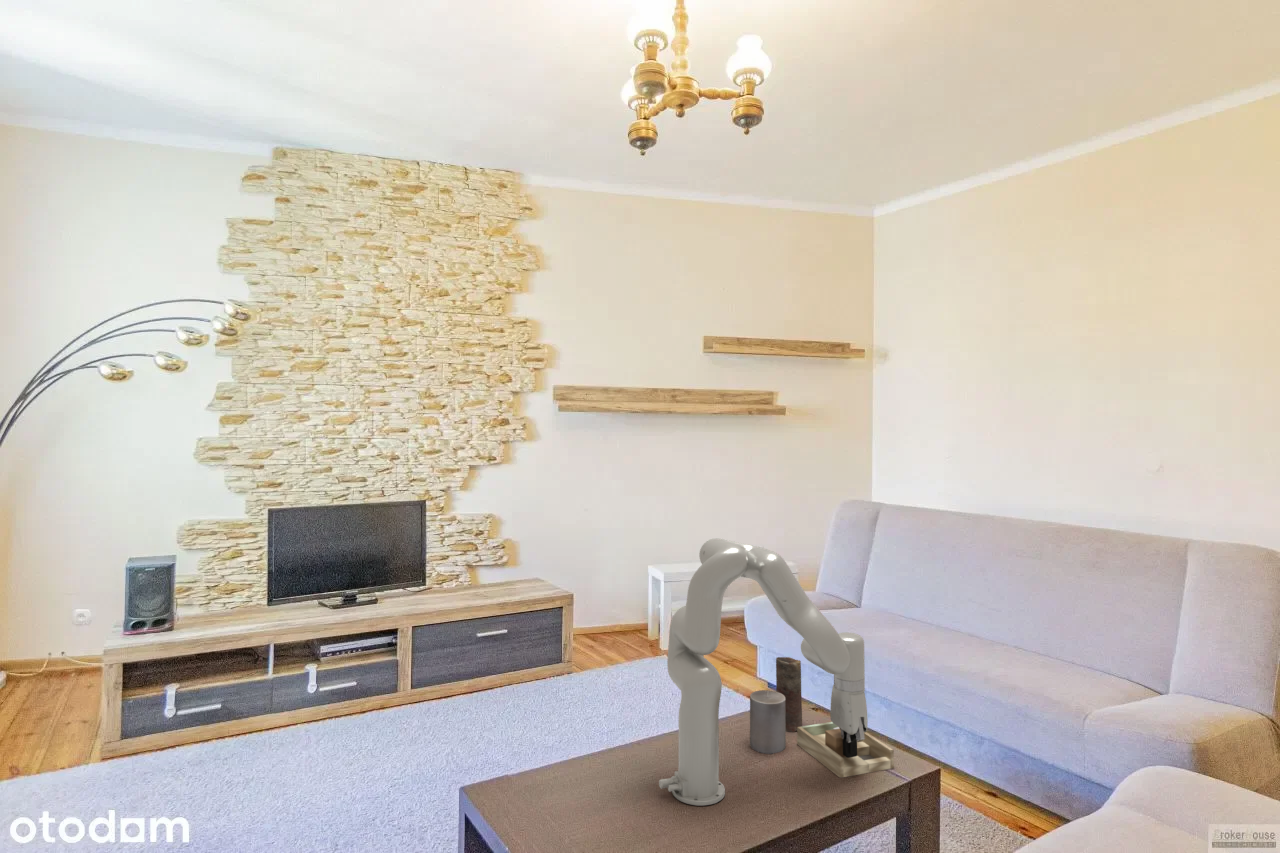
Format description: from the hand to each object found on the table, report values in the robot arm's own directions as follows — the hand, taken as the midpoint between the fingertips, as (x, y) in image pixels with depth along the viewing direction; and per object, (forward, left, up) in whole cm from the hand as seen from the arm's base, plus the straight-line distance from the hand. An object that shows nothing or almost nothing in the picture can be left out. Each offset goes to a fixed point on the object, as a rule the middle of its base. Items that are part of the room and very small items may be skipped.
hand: (850, 755), depth 180 cm
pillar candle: (-13, +19, -4) cm, 23 cm away
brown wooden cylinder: (-1, +28, -4) cm, 28 cm away
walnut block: (0, +5, -1) cm, 5 cm away
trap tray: (+3, +7, -4) cm, 9 cm away
